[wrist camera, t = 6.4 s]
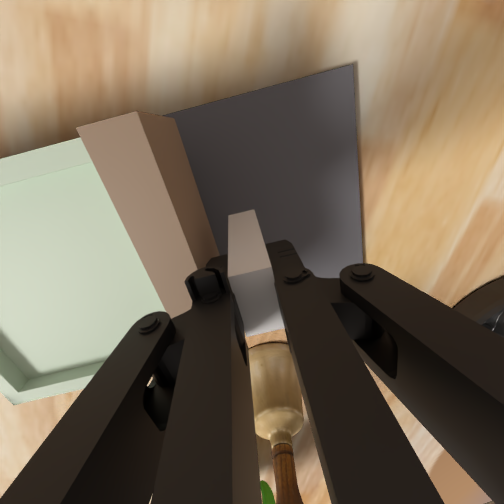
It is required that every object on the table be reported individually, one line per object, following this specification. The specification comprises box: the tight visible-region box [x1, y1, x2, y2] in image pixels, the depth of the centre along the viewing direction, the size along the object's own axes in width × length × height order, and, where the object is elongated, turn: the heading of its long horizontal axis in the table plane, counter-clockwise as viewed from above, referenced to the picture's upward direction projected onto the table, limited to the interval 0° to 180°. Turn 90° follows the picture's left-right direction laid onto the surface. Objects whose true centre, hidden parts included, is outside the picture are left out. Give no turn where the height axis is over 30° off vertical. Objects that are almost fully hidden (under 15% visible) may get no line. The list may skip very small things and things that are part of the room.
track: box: [163, 64, 363, 278], centre depth 18 cm, size 30×15×3 cm, turn 103°
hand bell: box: [248, 343, 304, 504], centre depth 19 cm, size 8×8×16 cm
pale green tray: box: [0, 111, 220, 405], centre depth 15 cm, size 16×14×8 cm
